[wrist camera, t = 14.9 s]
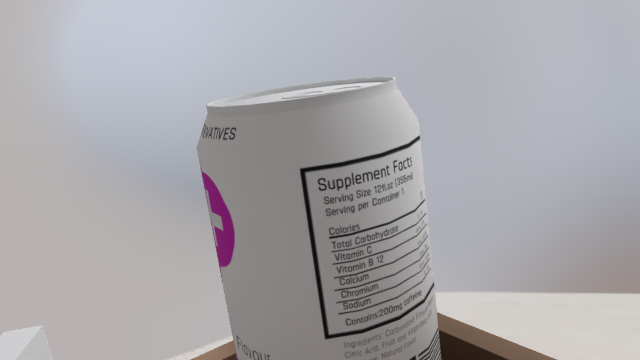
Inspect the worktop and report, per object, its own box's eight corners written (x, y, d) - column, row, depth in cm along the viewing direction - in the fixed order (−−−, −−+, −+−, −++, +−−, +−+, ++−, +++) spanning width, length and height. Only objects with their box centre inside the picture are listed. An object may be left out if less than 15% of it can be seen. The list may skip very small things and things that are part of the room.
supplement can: (236, 525, 20) (153, 119, 17) (275, 388, 28) (223, 94, 25) (463, 517, 19) (422, 84, 16) (436, 378, 27) (406, 70, 24)
